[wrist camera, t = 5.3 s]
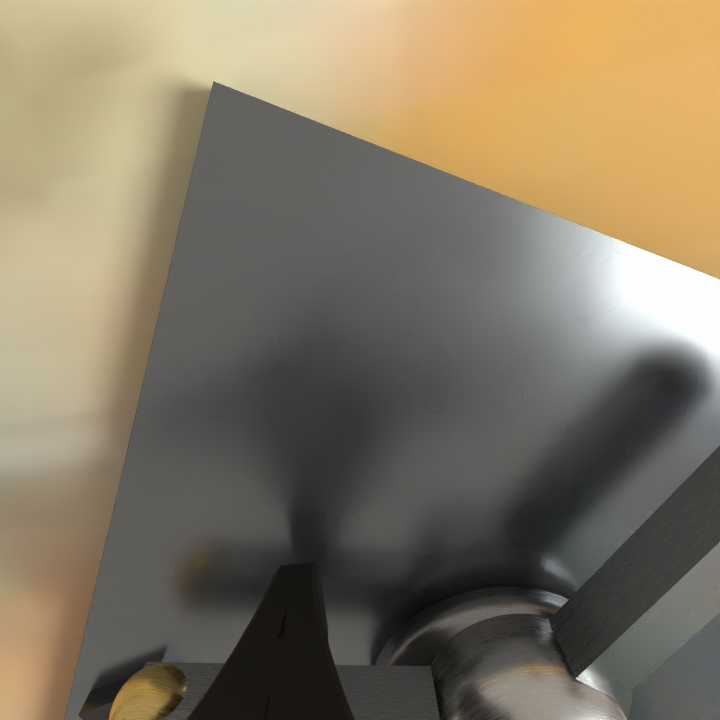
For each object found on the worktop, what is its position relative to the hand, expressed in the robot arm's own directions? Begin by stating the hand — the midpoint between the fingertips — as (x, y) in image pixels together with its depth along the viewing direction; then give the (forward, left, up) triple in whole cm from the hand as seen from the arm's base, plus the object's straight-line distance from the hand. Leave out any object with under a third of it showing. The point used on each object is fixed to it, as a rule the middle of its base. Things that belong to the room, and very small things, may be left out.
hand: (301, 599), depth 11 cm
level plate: (-5, +1, -2) cm, 6 cm away
